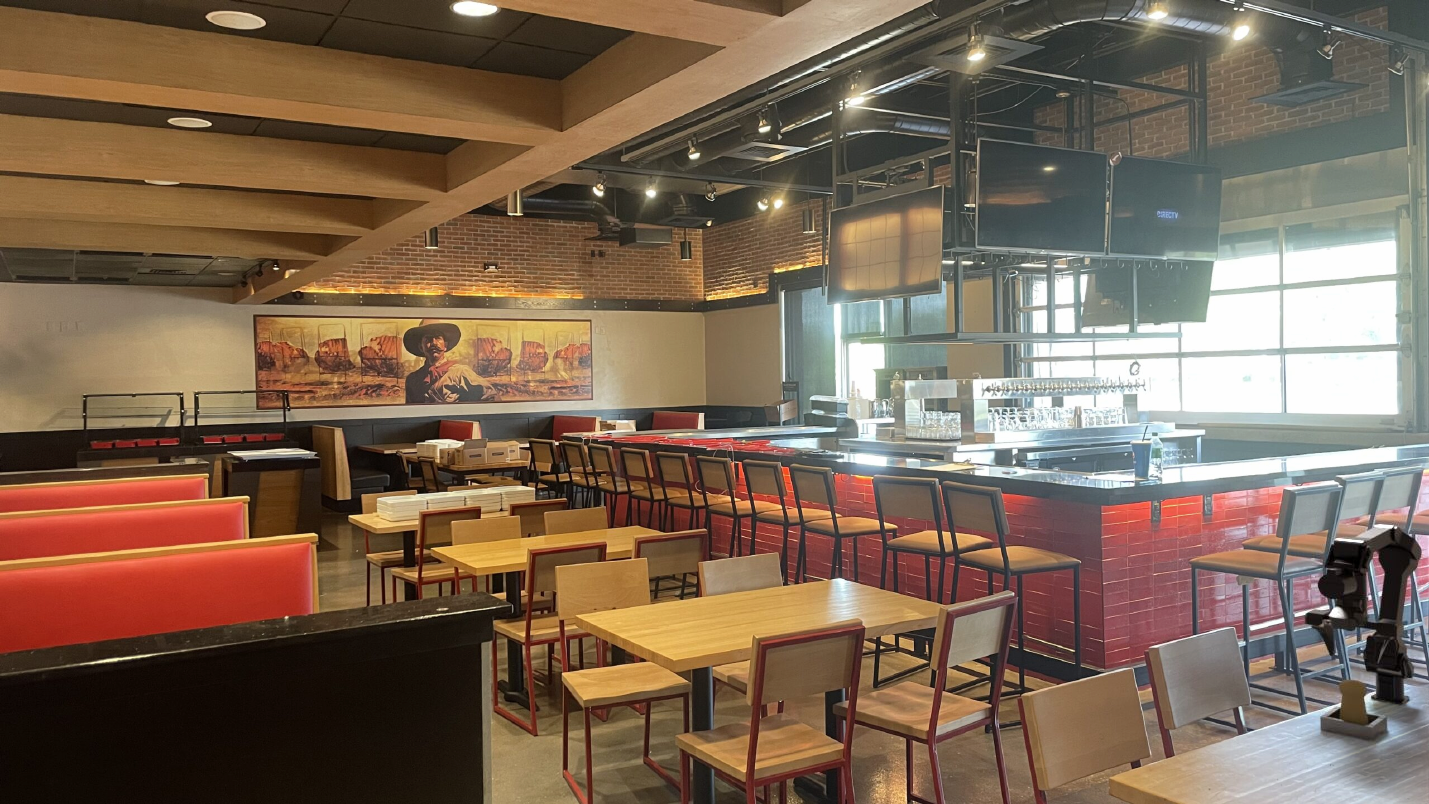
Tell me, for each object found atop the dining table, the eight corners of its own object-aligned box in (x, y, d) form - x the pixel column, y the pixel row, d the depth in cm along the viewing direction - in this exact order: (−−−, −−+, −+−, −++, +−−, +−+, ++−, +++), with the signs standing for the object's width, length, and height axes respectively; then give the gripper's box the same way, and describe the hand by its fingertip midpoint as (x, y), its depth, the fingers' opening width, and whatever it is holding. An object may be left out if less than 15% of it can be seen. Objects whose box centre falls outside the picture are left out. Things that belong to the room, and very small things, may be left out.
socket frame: (1336, 719, 224) (1336, 706, 224) (1387, 729, 216) (1386, 716, 216) (1320, 729, 218) (1320, 716, 218) (1372, 741, 210) (1371, 727, 210)
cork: (1331, 728, 218) (1330, 679, 218) (1348, 723, 221) (1347, 675, 221) (1359, 736, 213) (1358, 686, 213) (1376, 731, 216) (1375, 682, 215)
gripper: (1294, 592, 228) (1296, 658, 228) (1388, 604, 214) (1389, 675, 214) (1312, 585, 235) (1314, 649, 235) (1403, 596, 221) (1405, 664, 221)
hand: (1353, 659), depth 226 cm, fingers open, 9 cm apart
